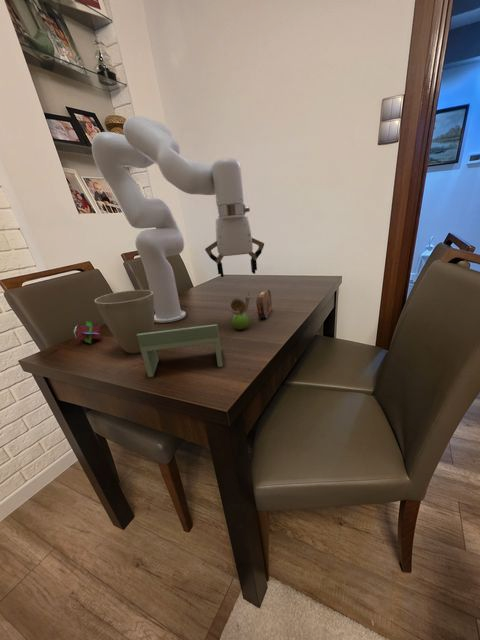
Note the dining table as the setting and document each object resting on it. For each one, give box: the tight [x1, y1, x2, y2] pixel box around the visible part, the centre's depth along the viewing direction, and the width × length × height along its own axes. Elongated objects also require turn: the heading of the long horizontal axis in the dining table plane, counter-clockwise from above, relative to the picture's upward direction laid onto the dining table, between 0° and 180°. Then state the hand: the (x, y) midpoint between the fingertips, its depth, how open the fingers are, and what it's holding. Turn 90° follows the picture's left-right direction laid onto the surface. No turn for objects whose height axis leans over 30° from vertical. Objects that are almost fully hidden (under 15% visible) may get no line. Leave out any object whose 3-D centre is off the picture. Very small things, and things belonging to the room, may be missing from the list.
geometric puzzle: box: [73, 320, 101, 345], centre depth 90 cm, size 7×7×8 cm
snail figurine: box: [230, 292, 250, 331], centre depth 90 cm, size 5×6×12 cm
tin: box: [256, 289, 273, 319], centre depth 103 cm, size 15×3×8 cm, turn 168°
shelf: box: [137, 323, 224, 378], centre depth 70 cm, size 9×18×11 cm, turn 101°
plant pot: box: [94, 289, 155, 354], centre depth 81 cm, size 15×15×16 cm
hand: (238, 274), depth 85 cm, fingers open, 9 cm apart
